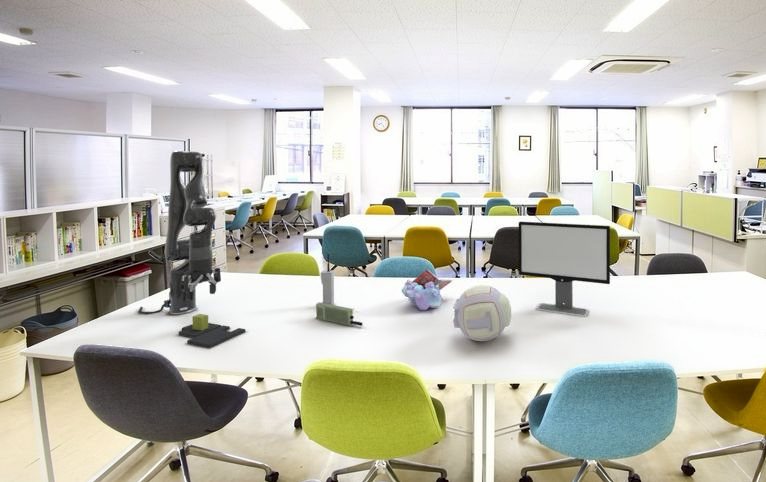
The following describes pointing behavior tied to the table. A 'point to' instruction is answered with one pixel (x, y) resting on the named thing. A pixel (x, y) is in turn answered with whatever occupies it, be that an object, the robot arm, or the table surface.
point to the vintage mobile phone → (328, 285)
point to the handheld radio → (336, 314)
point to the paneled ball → (482, 313)
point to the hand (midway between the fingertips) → (201, 297)
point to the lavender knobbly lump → (425, 290)
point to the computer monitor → (564, 258)
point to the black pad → (196, 332)
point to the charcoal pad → (215, 336)
